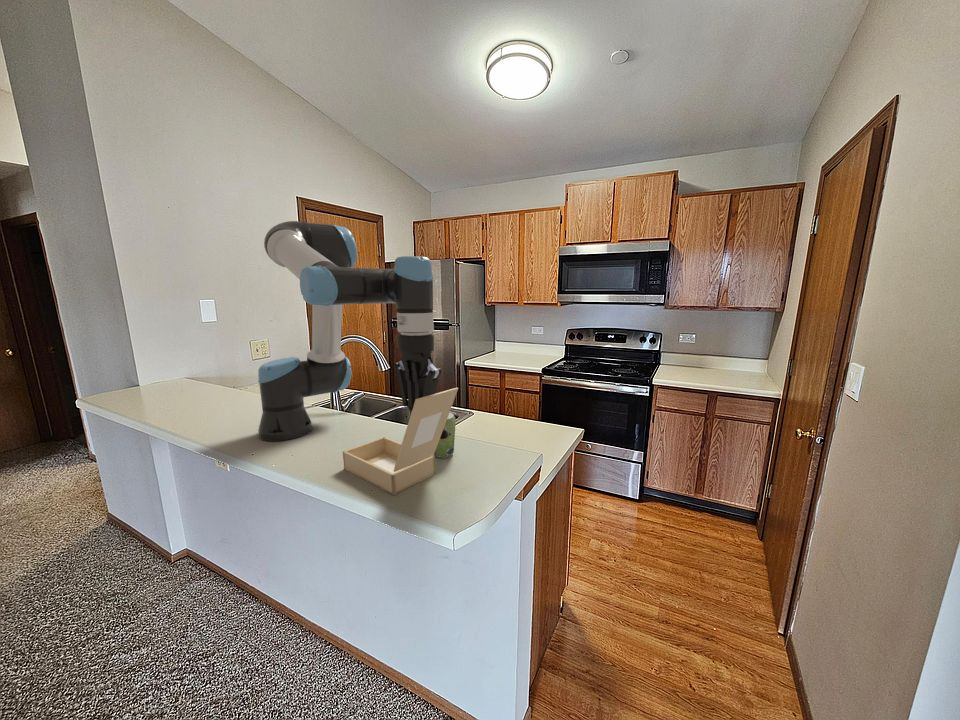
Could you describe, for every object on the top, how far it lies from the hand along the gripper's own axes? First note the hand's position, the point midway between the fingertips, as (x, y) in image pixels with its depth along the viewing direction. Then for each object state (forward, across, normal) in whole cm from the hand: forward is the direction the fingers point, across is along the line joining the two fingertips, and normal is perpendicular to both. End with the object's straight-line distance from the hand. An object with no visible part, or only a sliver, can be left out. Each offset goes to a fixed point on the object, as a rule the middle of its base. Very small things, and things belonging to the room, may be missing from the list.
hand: (419, 439), depth 83 cm
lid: (-3, +2, 0) cm, 4 cm away
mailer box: (+11, -12, 0) cm, 16 cm away
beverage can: (+12, -8, +15) cm, 20 cm away
